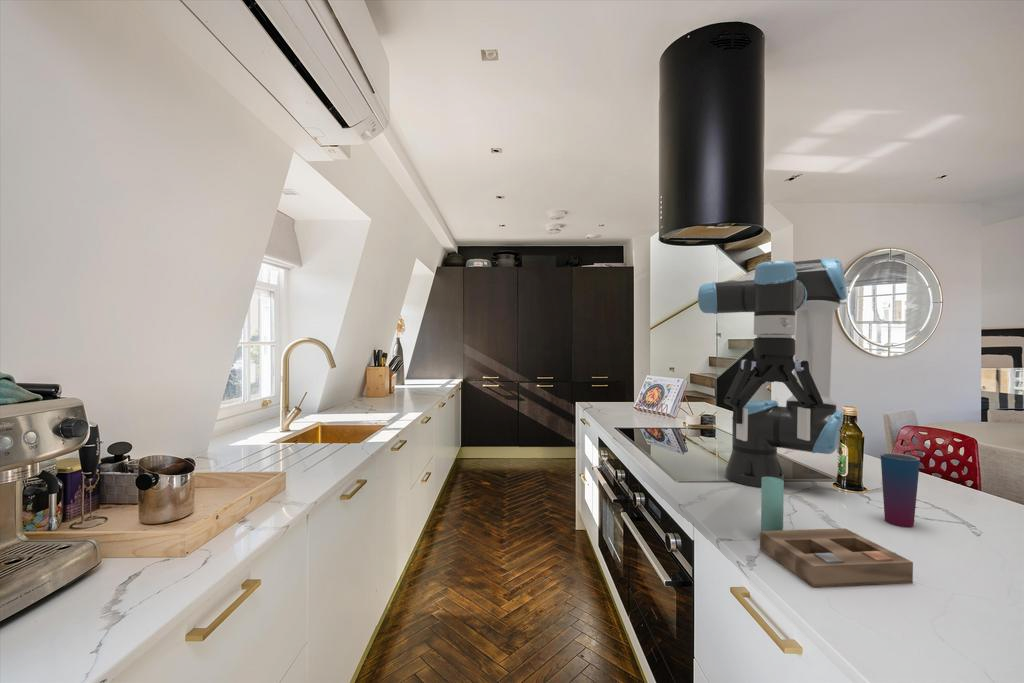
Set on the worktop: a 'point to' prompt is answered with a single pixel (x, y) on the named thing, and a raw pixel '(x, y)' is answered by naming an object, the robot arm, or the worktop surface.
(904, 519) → the cup
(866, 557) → the socket board
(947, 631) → the worktop surface
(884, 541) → the worktop surface
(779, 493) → the plug
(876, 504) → the worktop surface
